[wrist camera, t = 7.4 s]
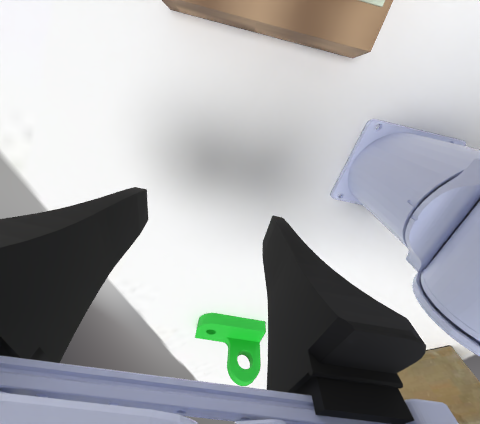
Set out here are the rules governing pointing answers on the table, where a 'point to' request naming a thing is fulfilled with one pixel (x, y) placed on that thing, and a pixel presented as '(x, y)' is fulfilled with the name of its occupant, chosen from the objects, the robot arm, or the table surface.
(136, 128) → the table surface
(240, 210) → the table surface
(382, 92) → the table surface
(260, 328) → the mechanical part
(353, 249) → the table surface
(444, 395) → the caddy
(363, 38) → the pocket board
